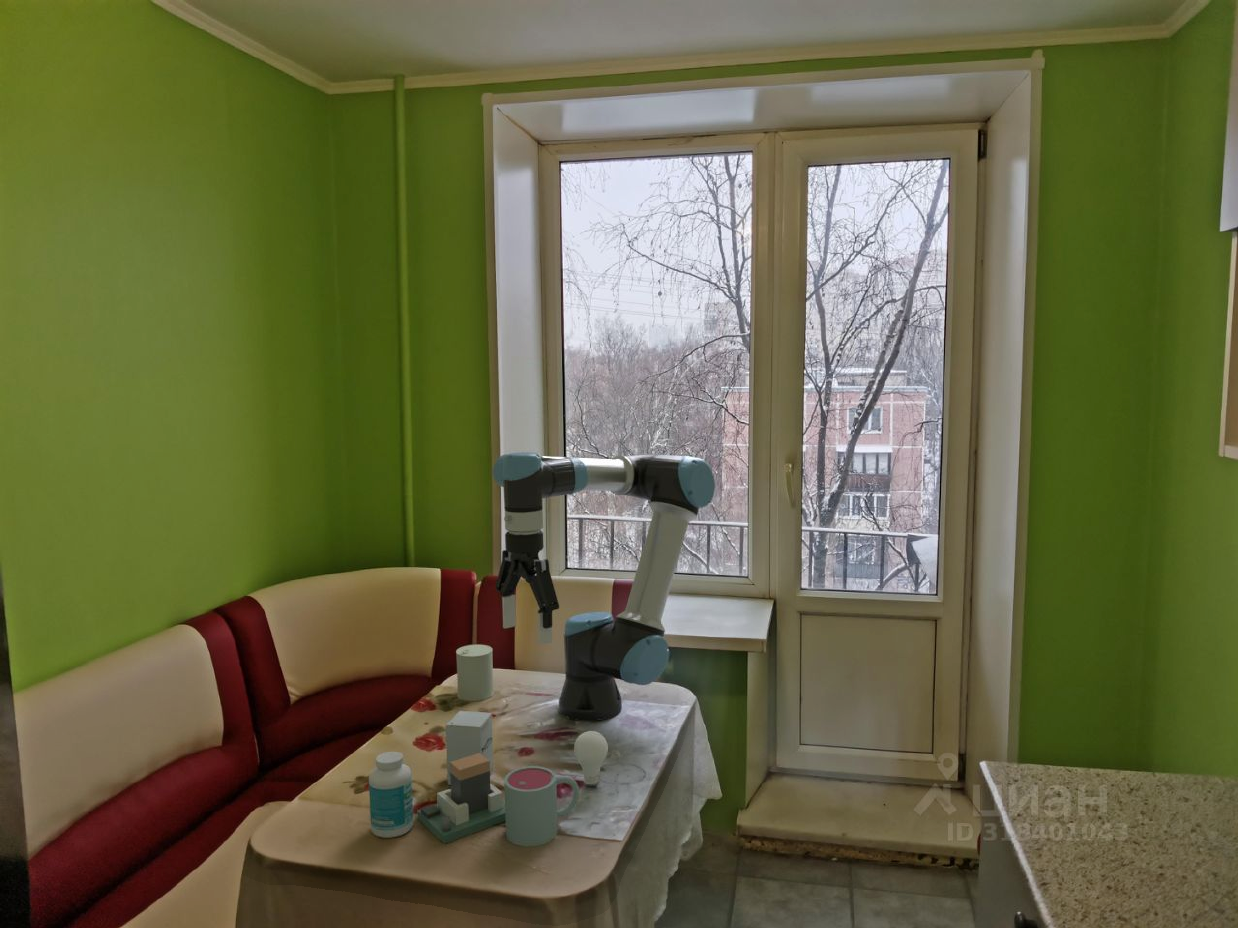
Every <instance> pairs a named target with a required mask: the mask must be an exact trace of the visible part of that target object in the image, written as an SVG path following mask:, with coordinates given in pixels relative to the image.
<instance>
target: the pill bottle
mask: <svg viewBox="0 0 1238 928" xmlns="http://www.w3.org/2000/svg"><path fill="white" fill-rule="evenodd" d="M375 766H376V767H375V768H374V769H372V770H371V772H370V773H369V777H368V790H369V793H368V795H369V811H370V829H371V832H372V833H373V834H374V835H375V836H376V837H379V838H384V839H390V838H392V839H393V838H397V837H400V836H403V835H405V834H407V833H408V832H409V831H410V830H412V828H413V826H414V803H413V802H414V800H413V779H412V778H413V777H412V776H413V775H412V770H411V768H410V767H409V766H408V765H406V764H405V763H404V755H403V754H402V752H398V751H386V752H383V753H380V754H378V756H376V758H375Z"/></svg>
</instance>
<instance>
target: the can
mask: <svg viewBox="0 0 1238 928" xmlns="http://www.w3.org/2000/svg"><path fill="white" fill-rule="evenodd" d="M455 653H456V655H455V656H456V674H457V675H456V676H457V693H456V695H457V698H458V699H460V700H462V701H466V702H479V701H484V700H487V699H490V698H491V697H493V696H494V694H495V689H494V670H493V648H492V647H491V646H490V645H487V644H468V645H464V646H460V647H459V648H457V649H456V651H455Z"/></svg>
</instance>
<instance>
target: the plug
mask: <svg viewBox="0 0 1238 928" xmlns="http://www.w3.org/2000/svg"><path fill="white" fill-rule="evenodd" d="M450 775H451V785H450V790H451V800H453V801H454V802H455V803H456V804H457V805H460V804H463V803H467V804H468V809H469V815H470V814H473V813H476V812H479V811H481V810H484V809H487V808H488V794H491V788H490V783H491V774H490V761H489V760H488V759H487V758H485V757H484V756H483V755H482V754H480V753H478V754H474V755H471V756H468V757H465V758H462V759H458V760H455V761H452V762H450Z"/></svg>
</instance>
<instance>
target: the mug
mask: <svg viewBox="0 0 1238 928" xmlns="http://www.w3.org/2000/svg"><path fill="white" fill-rule="evenodd" d="M503 781H504V782H503V783H504V802H505V836H506V839H507V840H508V841H509V842H511V844H513V845H514V844H515V845H518V846H521V847H537V846H541V845H545V844H547V843H549V842H550V841H551V842H552V841H553V839H554V838H556V836H557V834H558V831H559V830H558V817H560V818H561V817H564V816H567V815H568V814H570V813H571V812H573V810H574V809H575V808H576V806H577V805H578V803H579V800H580V794H581V793H580V787H579V785H578V782H577V781H575V779H573V778H572V777H571V776H566V775H563V776H558V777H557V774H556V772H554V771H553V770H552V769H550V768H547V767H544V766H538V765H529V766H522V767H519V768H515V769H513V770H511V771H509V772H508V773H507V774H506V775H505V776H504V779H503ZM560 784H567V785H569V786H570V787H571V788H572V792H573V796H572V799H571V801H570V802H569V804H568V805H567V806H565V807H564V808H561V809H558V799H557V798H558V797H557V796H558V794H557V786H558V785H560Z"/></svg>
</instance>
